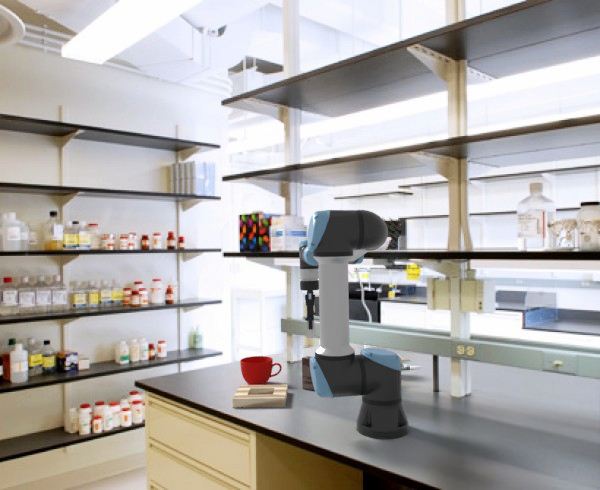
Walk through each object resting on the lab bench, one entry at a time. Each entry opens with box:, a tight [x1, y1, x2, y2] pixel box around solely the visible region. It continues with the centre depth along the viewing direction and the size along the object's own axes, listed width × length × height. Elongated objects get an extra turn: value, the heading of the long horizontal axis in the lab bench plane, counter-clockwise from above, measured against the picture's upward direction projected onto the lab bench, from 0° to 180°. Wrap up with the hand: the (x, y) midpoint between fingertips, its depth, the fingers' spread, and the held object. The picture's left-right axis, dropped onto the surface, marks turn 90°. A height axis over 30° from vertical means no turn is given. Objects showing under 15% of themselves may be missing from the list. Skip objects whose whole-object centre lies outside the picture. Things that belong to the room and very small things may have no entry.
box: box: [301, 355, 315, 392], centre depth 190 cm, size 6×4×12 cm
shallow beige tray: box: [232, 384, 289, 409], centre depth 177 cm, size 17×18×3 cm
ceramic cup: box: [239, 355, 283, 385], centre depth 197 cm, size 13×17×10 cm
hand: (311, 334), depth 190 cm, fingers open, 13 cm apart
